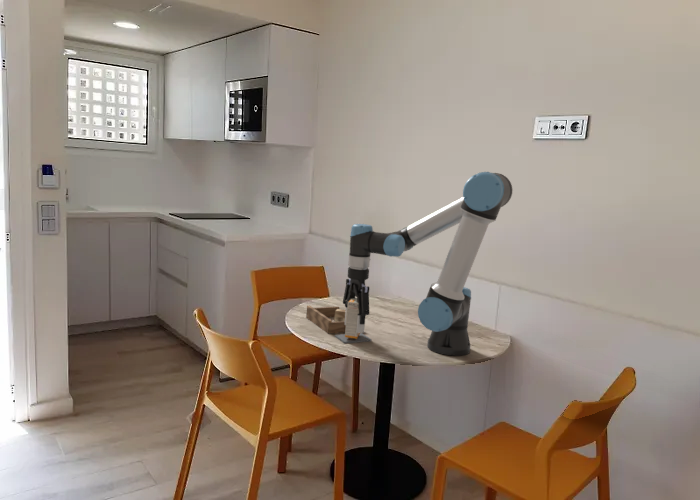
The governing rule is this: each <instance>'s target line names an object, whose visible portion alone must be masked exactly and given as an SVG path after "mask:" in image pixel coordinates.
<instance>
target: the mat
mask: <svg viewBox="0 0 700 500" xmlns="http://www.w3.org/2000/svg"><path fill="white" fill-rule="evenodd" d="M334 337H335V338H336V339H337V340H338V341H340V342H342V343H343V344H353V343H363V342H372V341H373V340H372V338H370V337H369V336H367V335H366V334H364V333H360V334H359V336H358V338H357V339H355V338H348V337H345V333H343V334H342V333H341V334H334Z"/></svg>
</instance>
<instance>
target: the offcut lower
mask: <svg viewBox="0 0 700 500" xmlns="http://www.w3.org/2000/svg"><path fill="white" fill-rule="evenodd" d="M339 321H345V318H340V317H334V321H333V322H339Z"/></svg>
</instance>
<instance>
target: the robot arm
mask: <svg viewBox="0 0 700 500" xmlns="http://www.w3.org/2000/svg"><path fill="white" fill-rule="evenodd" d="M512 185H513V184H512V182H511V181H510V179H509V178H508V177H507V176H506V175H504V174H502V173H498V172H491V171H481V172H477V173H475V174H474V175H471V176H470V177H469V178H468V179H467V180H466V182H465V183H464V186H463V189H462V196H461V197H459V198H457V199H456V200H454V201H452V202H450V203H448V204H446V205H444V206H442V207H441V208H439V209H437V210H435V211H433V212H432V213H430V214H428V215H426V216H424V217H422V218H421V219H420V218H419V220H416V221H415V222H413V223H411V224H409V225H407V226H405V227H403V228H402V229H401V228H400V230H398V231H394V232H393V231H392V232H379V231H378V232H377V231H374V229H373V226H372V225H371V224H364V223H354V224H353V225H352V226H351V230H350V235H349V237H350V242H349V255H348V268H347V278H346V280H345V287H344V288H345V289H344V293H343V300H342V304H343V305H344V307H345V309H344V310H345V324H344V325H346V318H347V306H348V301H349V300H350V299H351V298H357V302H358V309H359V314H357V315H358V318H357V331H356V332H357V333H362V334H364V333H365V326H366V316H369V315H370V286H367V285H366V280H368V279H369V277H370V269H369V267H370V262H371V254H378V255H382V256H387V257H396V258H397V257H398V258H399V257H401V256H402V254H403V253H404V252H407V251H410V250H411V249H413V248H414V247H415V246H417V245H418V244H421V243H423V242H425V241H427V240H429V239H430V238H432V237H434V236H437V235H439V234H440V233H443V232H445V231H446V230H448V229H450V228H452V227H454V226H456V225H458V224H459V225H458V226H457V229H456V232H455V235H454V237H453V240H452V242H451V244H450V247H449V250H448V253H447V255H446V258H445V261H444V263H443V266H442V268H441V271H440V274H439V276H438V279H437V281H436V282H434V283H431V285H430V287H429V289H428V292H427V295H426V298H424V299H422V300H421V302H420V303H419V305H418V308H417V317H418V319H419V321H420V323H421V325H422V326H423V327H424V328H426V329H427V330H429V331H431V333H430V335H429V338H428V339H427V345H426V346H427V348H428V349H429V350H430V351H432V352H434V353H437V354H442V355H444V356H445V355H446V356H447V355H448V356H456V357H457V356H466V355H468V354H470V353H471V342H470V337H469V332H468V331H469V330H468V326H469V325H468V324H469V318H470V308H471V301H472V290H471V289H470V288H468V287H465V285H466V282H467V279H468V277H469V275H470V272H471V270H472V267H473V265H474V263H475V259H476V257H477V254H478V252H479V249H480V247H481V244H482V242H483V241H484V240H483V239H484V237H485V234H486V232H487V230H488V227H489V225H490V224H491V223H494V222H495V221H496V220H497V217H498V215H499V212H500V210H501V208H502V207H504V206H505V205H507V204H508V203H509V202H510V200H511V198H512V196H513V186H512Z"/></svg>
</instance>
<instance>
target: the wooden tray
mask: <svg viewBox="0 0 700 500" xmlns="http://www.w3.org/2000/svg"><path fill="white" fill-rule="evenodd" d="M337 309H340V306H323V307H321V306H320V307H312V306H311V305H307V306H306V317H305V318H306V319H307V320H309V321H310V322H311V323H313V324H314V325H315V326H317V327H318V328H320V329H321V330H322V331H324V332H325V333H327V334H328V335H329V334H340V333H341V334H342V333H343V334H344V333H345V329H346V325H344V324H345V321H339V322H335V321H333V320H332V319H331V318H335V310H337Z"/></svg>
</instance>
